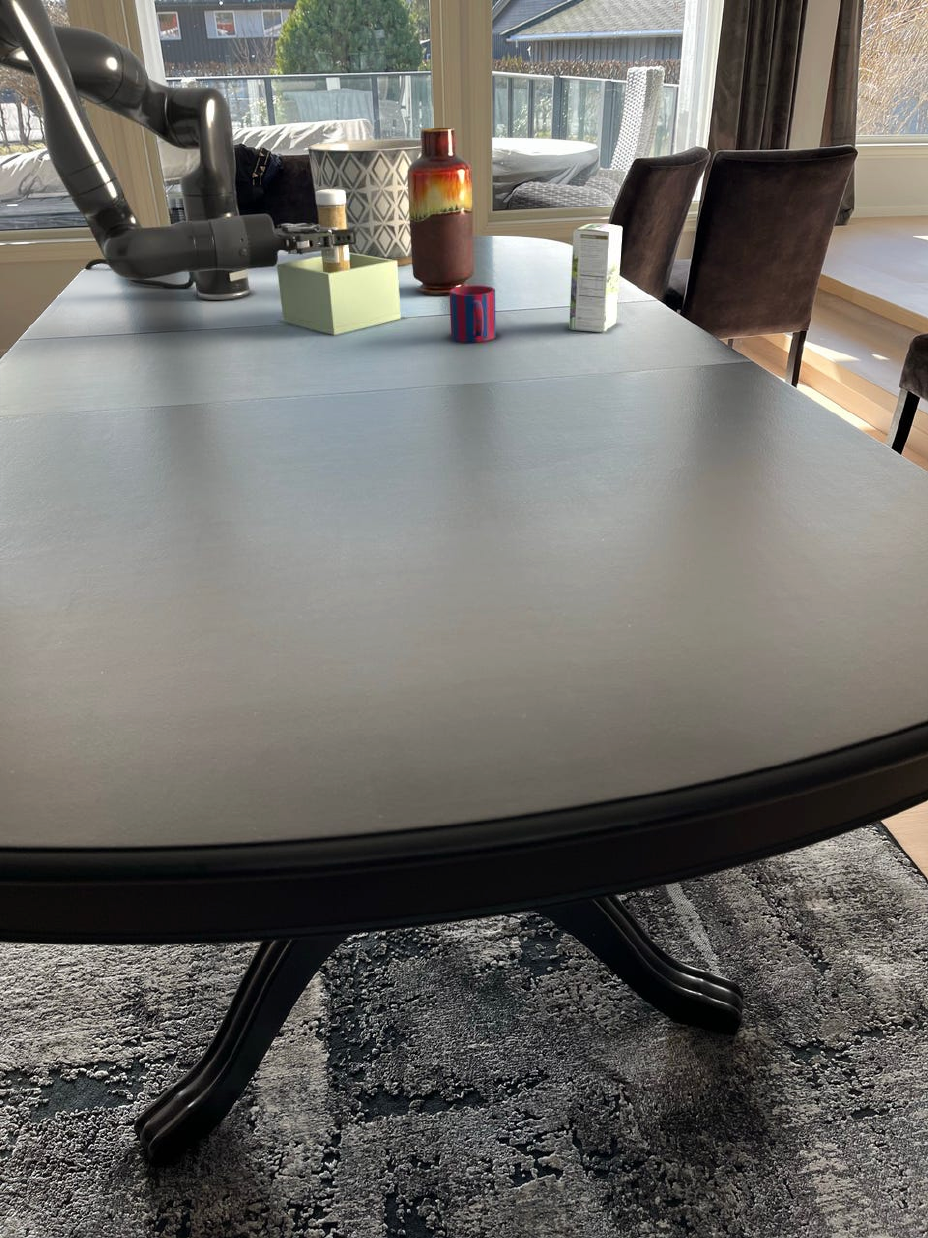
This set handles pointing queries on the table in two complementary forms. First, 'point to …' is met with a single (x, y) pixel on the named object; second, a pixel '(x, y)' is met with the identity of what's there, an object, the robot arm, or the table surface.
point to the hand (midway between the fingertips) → (350, 233)
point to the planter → (371, 191)
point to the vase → (440, 214)
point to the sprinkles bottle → (333, 227)
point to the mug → (472, 313)
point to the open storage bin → (339, 294)
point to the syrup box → (595, 277)
